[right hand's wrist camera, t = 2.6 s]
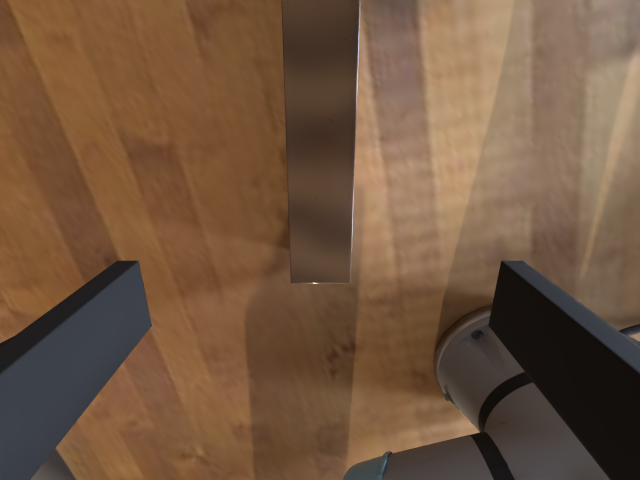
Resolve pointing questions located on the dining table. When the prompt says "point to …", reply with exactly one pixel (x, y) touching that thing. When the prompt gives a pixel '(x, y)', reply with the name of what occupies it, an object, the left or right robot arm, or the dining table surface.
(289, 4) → the bar
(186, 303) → the dining table surface
